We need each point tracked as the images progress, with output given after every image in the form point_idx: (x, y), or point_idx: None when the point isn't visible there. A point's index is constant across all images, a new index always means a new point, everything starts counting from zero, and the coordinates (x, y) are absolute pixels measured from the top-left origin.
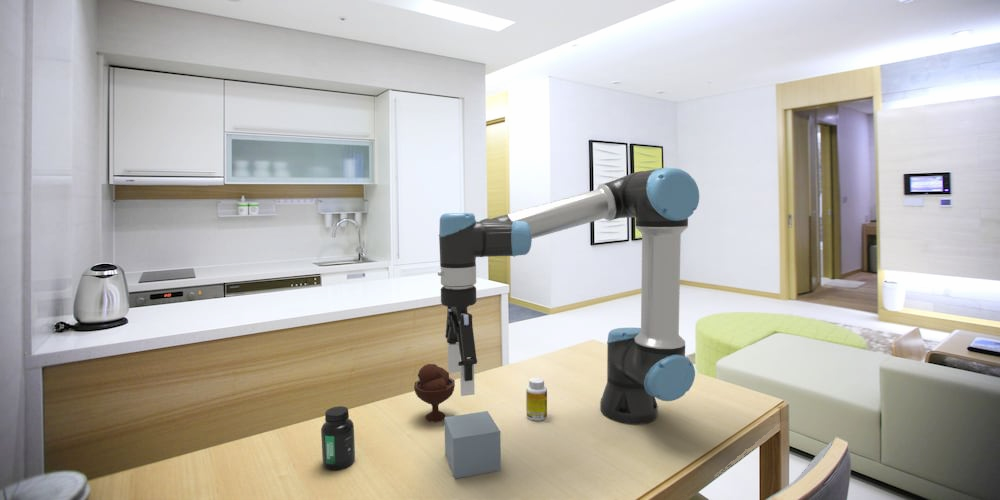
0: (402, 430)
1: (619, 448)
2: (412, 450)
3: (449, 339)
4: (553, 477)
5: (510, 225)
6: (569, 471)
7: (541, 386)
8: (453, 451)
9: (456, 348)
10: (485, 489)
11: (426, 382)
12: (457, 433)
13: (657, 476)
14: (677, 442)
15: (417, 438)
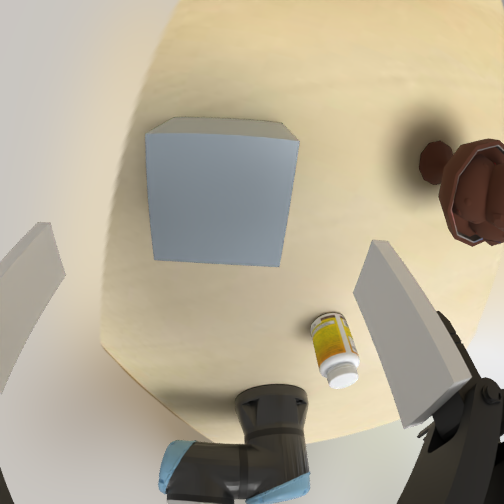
0: (422, 78)
1: (189, 366)
2: (331, 61)
3: (462, 433)
4: (136, 278)
5: None
6: (147, 302)
7: (327, 377)
8: (156, 127)
9: (406, 392)
10: (124, 168)
11: (491, 172)
12: (172, 152)
13: (125, 363)
14: (186, 400)
15: (377, 90)
